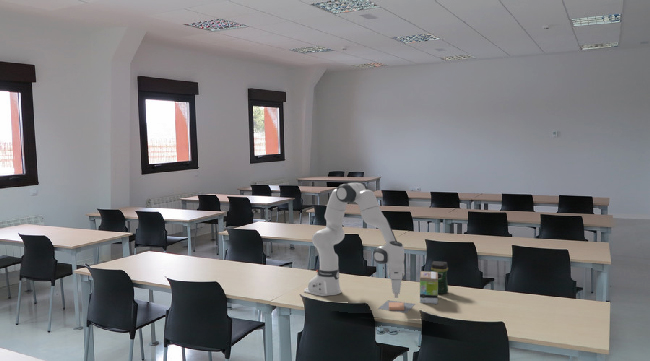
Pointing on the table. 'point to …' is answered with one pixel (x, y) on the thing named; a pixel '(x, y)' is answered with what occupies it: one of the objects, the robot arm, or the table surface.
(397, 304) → the tile
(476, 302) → the table surface
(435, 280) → the tea box
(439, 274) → the coffee jar
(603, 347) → the table surface
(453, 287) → the table surface
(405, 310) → the mat
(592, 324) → the table surface
